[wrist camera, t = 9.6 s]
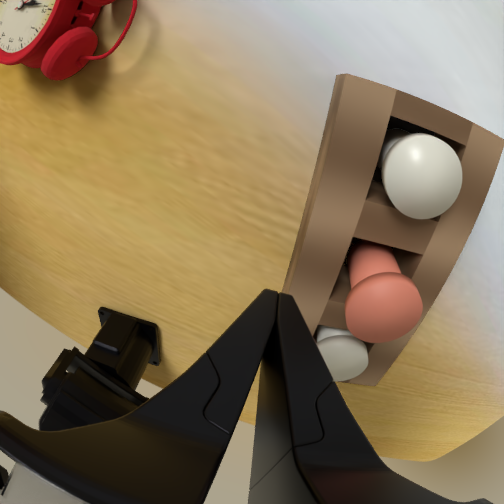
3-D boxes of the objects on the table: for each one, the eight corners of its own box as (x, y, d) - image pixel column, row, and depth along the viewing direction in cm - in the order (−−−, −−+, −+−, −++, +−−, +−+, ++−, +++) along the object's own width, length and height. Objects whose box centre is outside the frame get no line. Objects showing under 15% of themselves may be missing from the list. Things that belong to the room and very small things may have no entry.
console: (371, 348, 25) (376, 386, 22) (270, 329, 26) (264, 368, 22) (472, 126, 15) (507, 141, 11) (336, 75, 15) (346, 73, 11)
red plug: (386, 290, 19) (401, 347, 15) (330, 278, 19) (334, 336, 15) (410, 239, 17) (436, 291, 13) (350, 223, 17) (363, 275, 13)
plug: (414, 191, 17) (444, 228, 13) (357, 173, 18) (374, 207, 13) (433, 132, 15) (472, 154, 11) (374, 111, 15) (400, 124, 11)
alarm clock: (9, -55, 7) (111, -75, 6) (64, -46, 12) (181, -39, 11) (-33, 58, 12) (32, 112, 12) (23, 52, 18) (112, 102, 17)
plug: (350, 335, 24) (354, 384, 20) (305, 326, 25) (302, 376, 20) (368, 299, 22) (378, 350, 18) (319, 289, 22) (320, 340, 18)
